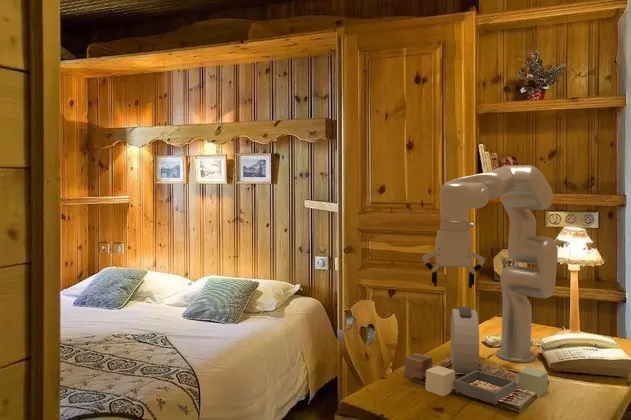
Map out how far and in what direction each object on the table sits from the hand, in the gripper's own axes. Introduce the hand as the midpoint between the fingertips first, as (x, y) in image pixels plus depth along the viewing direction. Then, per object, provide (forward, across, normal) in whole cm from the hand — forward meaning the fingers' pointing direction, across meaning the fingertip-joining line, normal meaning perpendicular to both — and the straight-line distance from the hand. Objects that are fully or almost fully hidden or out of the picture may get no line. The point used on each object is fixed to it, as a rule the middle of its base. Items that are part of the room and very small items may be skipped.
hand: (452, 286), depth 151 cm
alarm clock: (+31, -5, -21) cm, 38 cm away
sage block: (+31, -23, -6) cm, 39 cm away
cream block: (+31, +3, 0) cm, 31 cm away
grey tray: (+31, -10, -1) cm, 32 cm away
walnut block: (+31, +9, -10) cm, 34 cm away
